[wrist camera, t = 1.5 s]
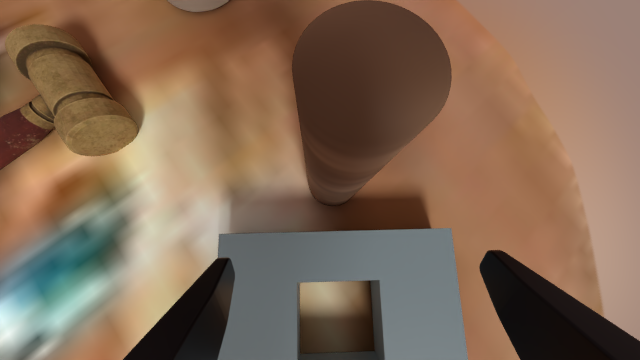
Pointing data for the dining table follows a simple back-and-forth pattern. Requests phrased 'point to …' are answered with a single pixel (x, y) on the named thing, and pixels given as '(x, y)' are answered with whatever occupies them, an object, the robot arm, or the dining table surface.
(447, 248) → the socket board
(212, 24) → the dining table surface
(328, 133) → the peg
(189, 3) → the travel mug
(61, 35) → the gavel
